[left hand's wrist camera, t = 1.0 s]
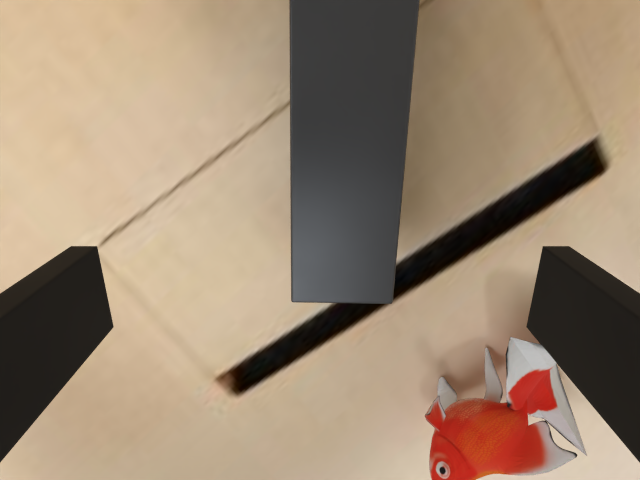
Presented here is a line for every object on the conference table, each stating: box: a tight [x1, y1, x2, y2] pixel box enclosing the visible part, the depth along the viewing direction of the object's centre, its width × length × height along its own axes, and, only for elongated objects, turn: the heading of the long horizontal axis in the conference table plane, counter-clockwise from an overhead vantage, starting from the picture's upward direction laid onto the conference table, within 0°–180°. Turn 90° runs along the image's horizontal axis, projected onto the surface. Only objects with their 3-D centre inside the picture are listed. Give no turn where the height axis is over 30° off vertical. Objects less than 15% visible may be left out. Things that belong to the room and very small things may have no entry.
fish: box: [425, 337, 587, 480], centre depth 29 cm, size 11×16×10 cm
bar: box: [290, 0, 419, 304], centre depth 21 cm, size 24×5×9 cm, turn 179°
